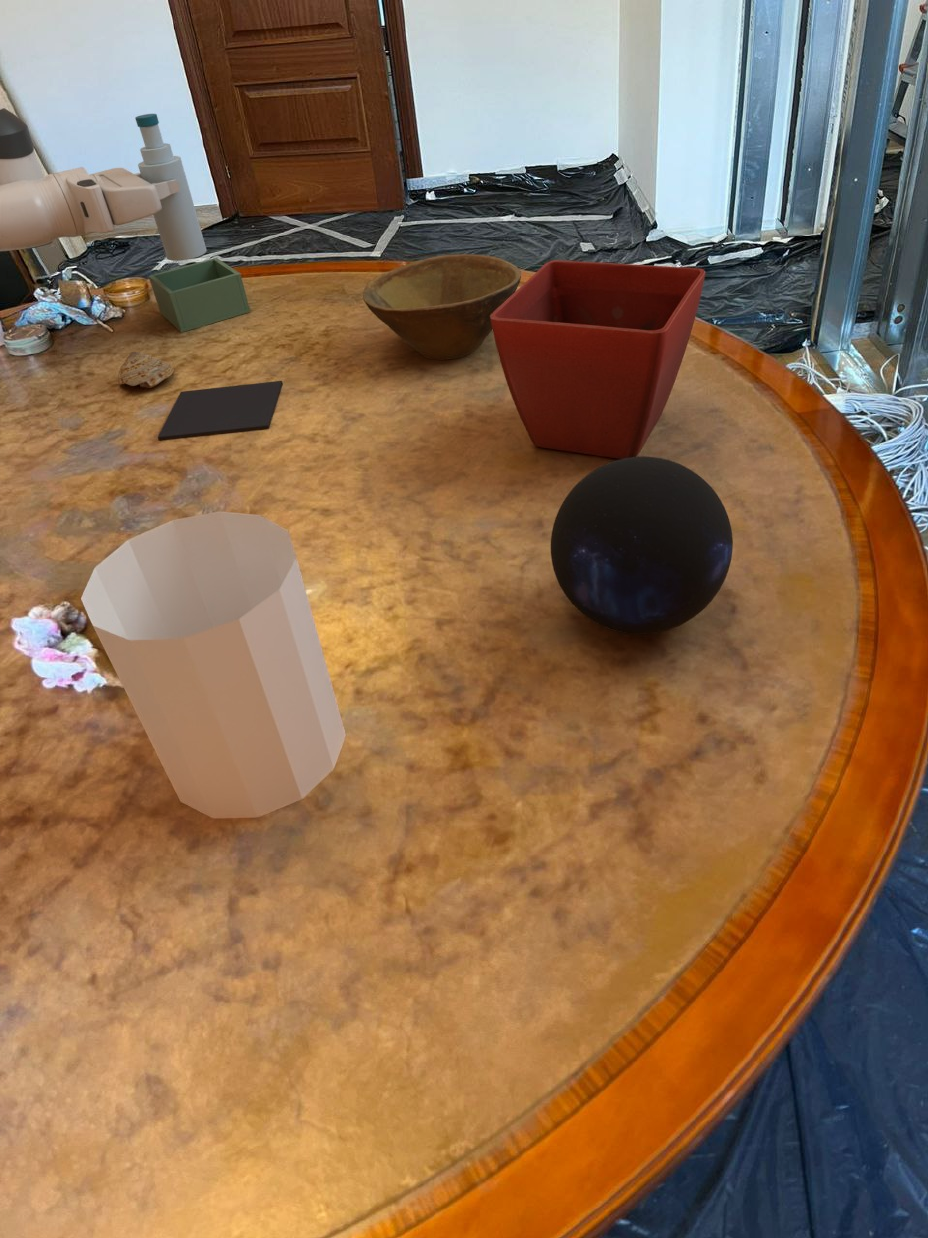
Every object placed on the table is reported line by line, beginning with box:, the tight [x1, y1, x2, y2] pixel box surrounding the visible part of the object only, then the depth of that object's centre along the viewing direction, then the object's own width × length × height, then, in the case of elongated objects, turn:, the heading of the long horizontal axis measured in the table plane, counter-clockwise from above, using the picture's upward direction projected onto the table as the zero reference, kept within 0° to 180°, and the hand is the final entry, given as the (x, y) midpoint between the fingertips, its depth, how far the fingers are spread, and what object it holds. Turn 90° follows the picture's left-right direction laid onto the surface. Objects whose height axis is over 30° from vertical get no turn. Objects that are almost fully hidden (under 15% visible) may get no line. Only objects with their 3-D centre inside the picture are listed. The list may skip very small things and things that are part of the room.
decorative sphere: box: [550, 455, 734, 635], centre depth 73 cm, size 15×15×15 cm
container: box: [80, 510, 347, 819], centre depth 64 cm, size 14×14×18 cm
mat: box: [157, 380, 283, 441], centre depth 119 cm, size 15×14×1 cm
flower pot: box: [490, 259, 706, 460], centre depth 99 cm, size 19×19×17 cm
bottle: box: [135, 113, 207, 262], centre depth 136 cm, size 7×7×20 cm
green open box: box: [148, 257, 252, 333], centre depth 149 cm, size 13×13×7 cm
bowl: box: [362, 253, 522, 361], centre depth 126 cm, size 22×23×10 cm
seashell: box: [117, 351, 175, 389], centre depth 129 cm, size 8×6×8 cm
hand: (170, 180), depth 135 cm, fingers closed on bottle, 6 cm apart
